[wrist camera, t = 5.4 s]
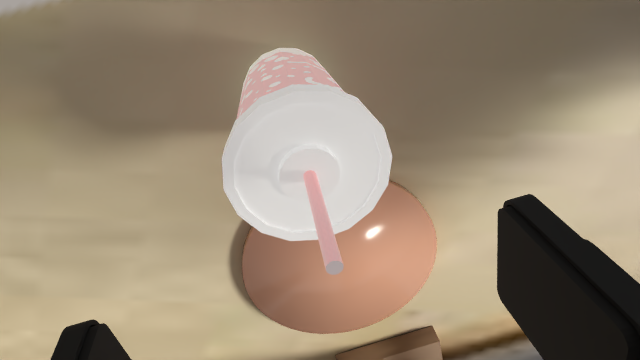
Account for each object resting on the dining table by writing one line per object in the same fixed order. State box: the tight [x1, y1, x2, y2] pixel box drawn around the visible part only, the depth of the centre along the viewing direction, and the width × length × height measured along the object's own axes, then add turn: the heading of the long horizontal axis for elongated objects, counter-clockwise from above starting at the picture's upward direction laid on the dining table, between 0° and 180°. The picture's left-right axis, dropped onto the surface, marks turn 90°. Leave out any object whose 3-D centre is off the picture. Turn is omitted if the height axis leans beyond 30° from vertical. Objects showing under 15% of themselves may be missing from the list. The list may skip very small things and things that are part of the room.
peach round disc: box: [242, 180, 437, 334], centre depth 29 cm, size 13×13×1 cm
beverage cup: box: [222, 48, 392, 275], centre depth 17 cm, size 6×6×14 cm
